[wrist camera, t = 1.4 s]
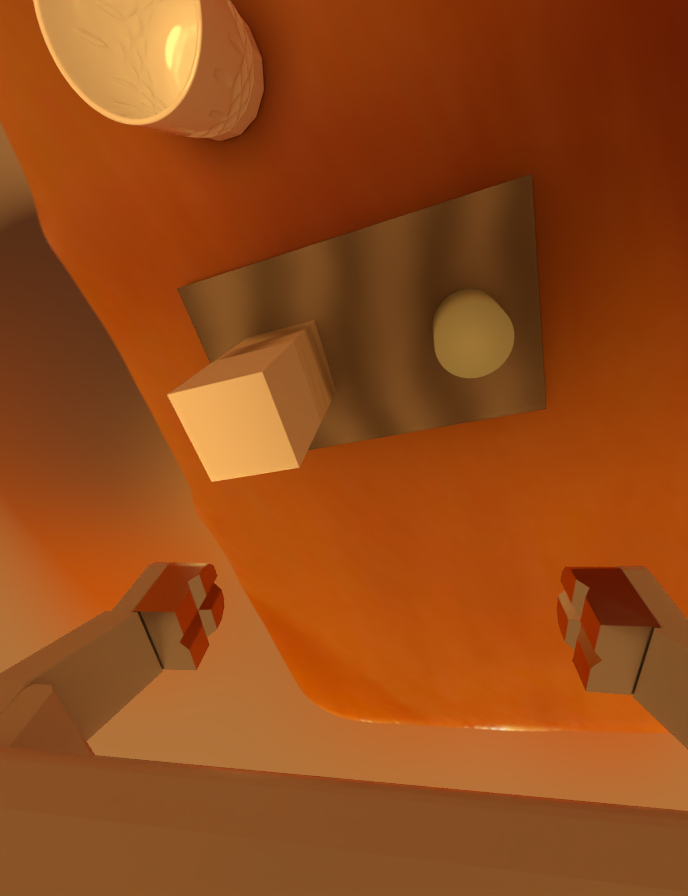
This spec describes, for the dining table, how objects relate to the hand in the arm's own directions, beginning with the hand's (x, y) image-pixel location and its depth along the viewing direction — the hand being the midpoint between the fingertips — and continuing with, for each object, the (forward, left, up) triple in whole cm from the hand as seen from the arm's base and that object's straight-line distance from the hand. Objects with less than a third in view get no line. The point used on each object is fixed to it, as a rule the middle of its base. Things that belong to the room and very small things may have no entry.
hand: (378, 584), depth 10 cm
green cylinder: (-4, +1, -25) cm, 25 cm away
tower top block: (+10, +1, -19) cm, 21 cm away
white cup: (+9, -18, -26) cm, 33 cm away
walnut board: (+4, +1, -26) cm, 26 cm away
